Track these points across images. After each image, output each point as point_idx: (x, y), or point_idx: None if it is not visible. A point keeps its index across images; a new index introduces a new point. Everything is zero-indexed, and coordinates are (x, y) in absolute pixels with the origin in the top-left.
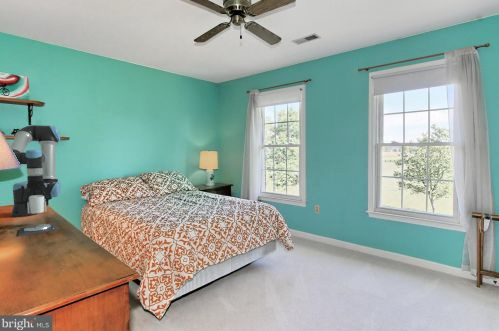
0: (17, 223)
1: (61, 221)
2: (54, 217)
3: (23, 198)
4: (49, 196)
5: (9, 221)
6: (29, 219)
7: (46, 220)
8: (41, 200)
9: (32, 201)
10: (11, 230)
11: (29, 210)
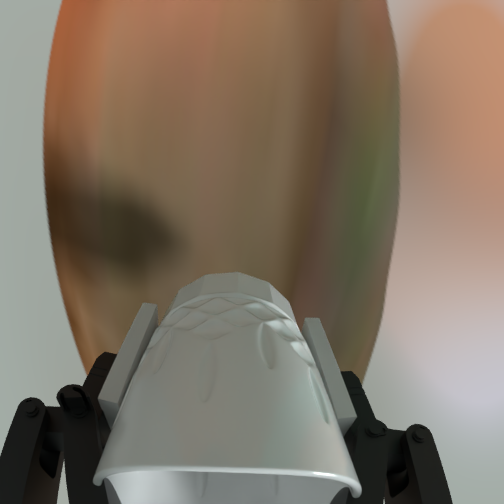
0: (105, 135)
1: (367, 304)
2: (371, 119)
3: (58, 480)
4: (389, 491)
5: (75, 30)
6: (193, 39)
7: (302, 188)
8: (277, 486)
9: (174, 483)
10: (94, 326)
11: (151, 332)
